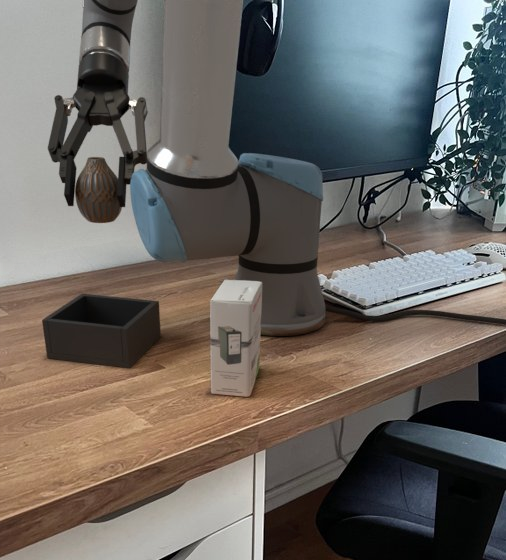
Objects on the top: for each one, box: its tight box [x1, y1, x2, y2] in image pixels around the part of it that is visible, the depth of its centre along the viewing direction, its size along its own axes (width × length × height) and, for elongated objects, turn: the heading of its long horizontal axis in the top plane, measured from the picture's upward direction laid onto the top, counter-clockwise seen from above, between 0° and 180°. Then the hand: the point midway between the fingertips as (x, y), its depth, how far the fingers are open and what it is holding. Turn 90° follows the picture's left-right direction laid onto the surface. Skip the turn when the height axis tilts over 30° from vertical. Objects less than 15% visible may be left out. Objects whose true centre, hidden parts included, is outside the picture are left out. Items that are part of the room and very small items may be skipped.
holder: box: [41, 293, 162, 369], centre depth 93 cm, size 12×12×5 cm
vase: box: [74, 156, 123, 224], centre depth 102 cm, size 7×7×9 cm
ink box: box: [209, 279, 262, 398], centre depth 83 cm, size 9×5×12 cm, turn 171°
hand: (95, 200), depth 99 cm, fingers closed on vase, 7 cm apart
